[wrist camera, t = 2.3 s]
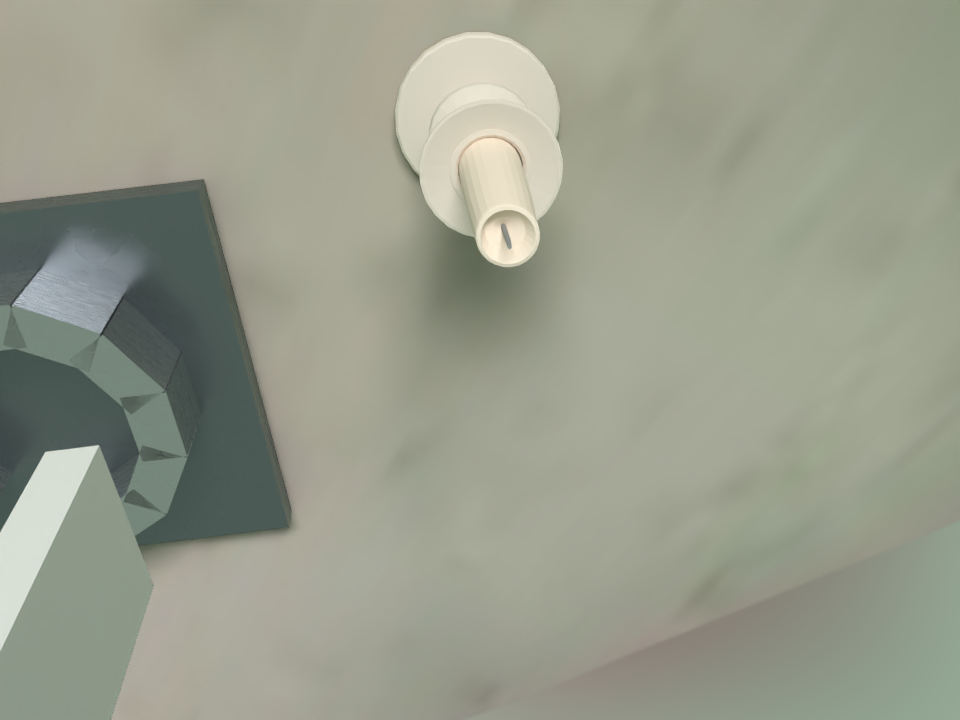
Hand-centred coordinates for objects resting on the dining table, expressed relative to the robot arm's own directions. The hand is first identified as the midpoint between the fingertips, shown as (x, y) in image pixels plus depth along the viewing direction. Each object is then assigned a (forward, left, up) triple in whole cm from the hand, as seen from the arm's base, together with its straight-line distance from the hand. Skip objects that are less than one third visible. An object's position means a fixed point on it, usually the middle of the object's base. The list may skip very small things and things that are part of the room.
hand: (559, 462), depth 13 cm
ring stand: (+8, -16, -18) cm, 25 cm away
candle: (0, 0, -18) cm, 18 cm away
